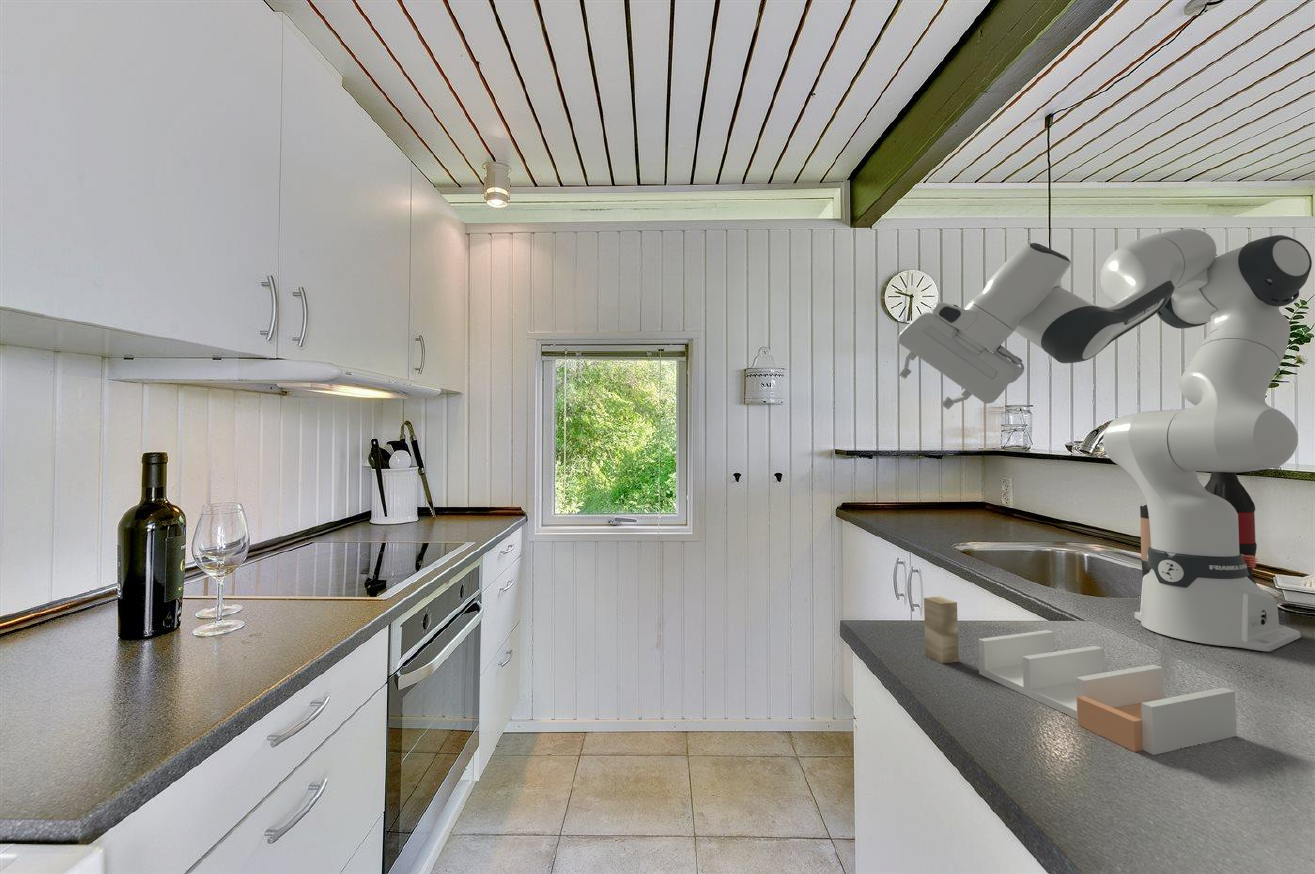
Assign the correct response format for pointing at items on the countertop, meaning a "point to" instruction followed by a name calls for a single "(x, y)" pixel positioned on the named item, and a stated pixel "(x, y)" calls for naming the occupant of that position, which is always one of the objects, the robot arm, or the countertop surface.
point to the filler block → (941, 629)
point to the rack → (1107, 694)
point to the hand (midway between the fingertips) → (922, 391)
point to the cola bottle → (1237, 509)
